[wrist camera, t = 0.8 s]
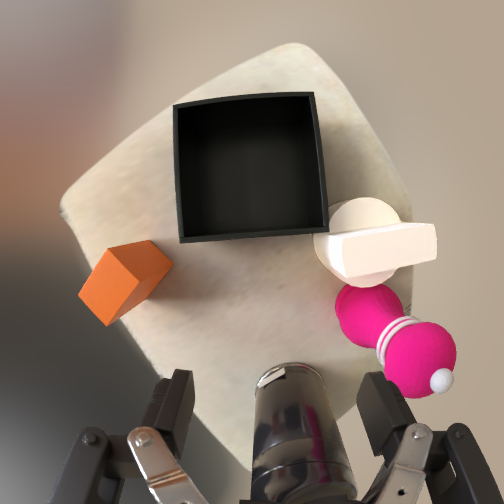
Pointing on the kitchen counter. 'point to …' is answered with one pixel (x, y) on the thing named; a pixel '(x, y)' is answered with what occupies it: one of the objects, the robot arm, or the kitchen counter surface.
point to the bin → (249, 167)
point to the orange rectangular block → (124, 279)
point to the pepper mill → (398, 340)
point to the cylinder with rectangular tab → (371, 242)
